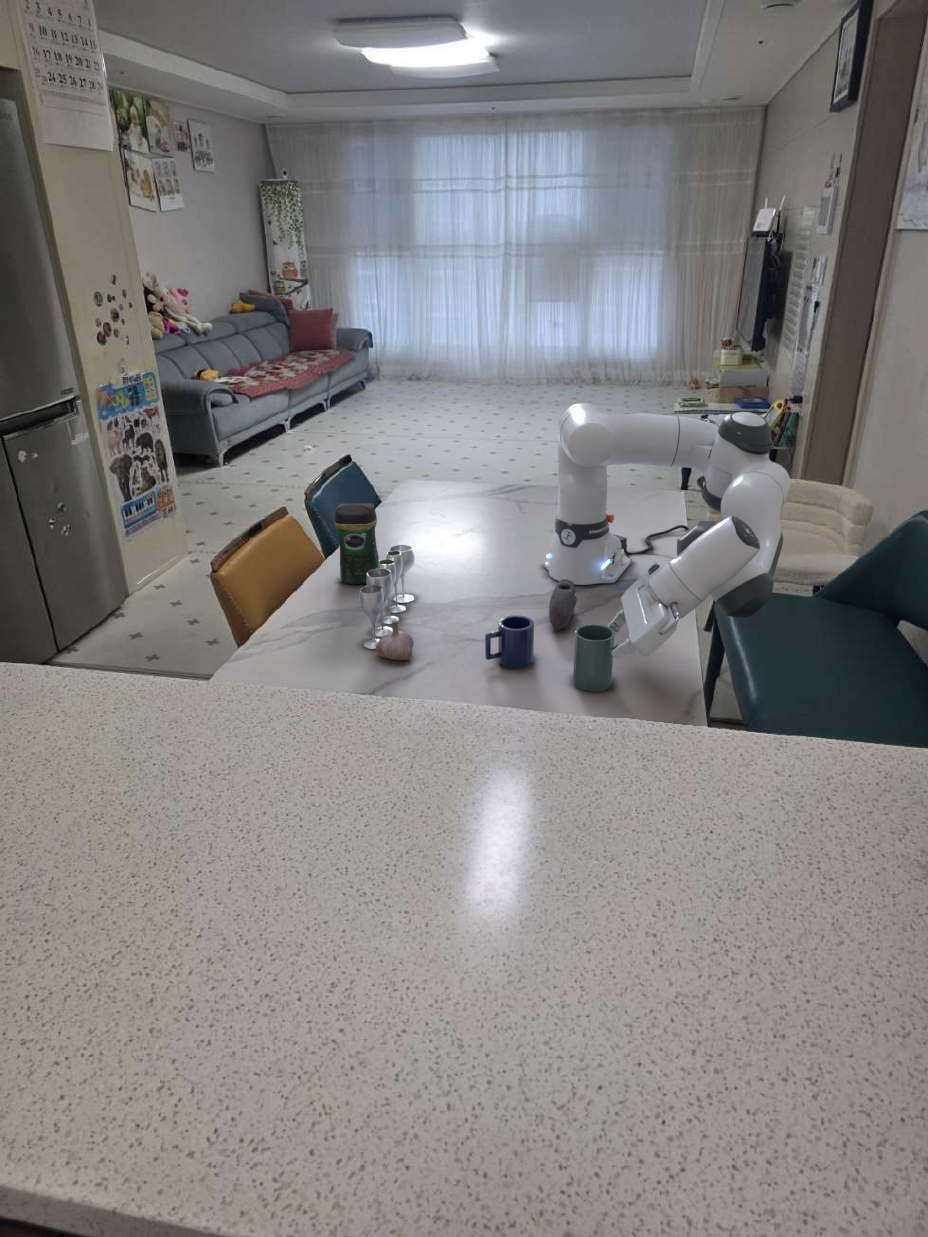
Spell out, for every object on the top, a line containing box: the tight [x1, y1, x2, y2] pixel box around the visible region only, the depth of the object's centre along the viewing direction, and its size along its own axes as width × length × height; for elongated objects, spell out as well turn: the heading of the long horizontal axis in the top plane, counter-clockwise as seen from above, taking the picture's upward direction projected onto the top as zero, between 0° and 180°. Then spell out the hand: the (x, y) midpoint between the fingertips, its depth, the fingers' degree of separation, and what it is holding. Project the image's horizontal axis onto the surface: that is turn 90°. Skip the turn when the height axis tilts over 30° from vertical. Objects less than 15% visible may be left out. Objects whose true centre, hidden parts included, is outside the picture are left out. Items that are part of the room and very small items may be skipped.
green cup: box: [572, 623, 616, 693], centre depth 147 cm, size 7×7×10 cm
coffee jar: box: [334, 502, 380, 585], centre depth 192 cm, size 10×8×19 cm
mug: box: [484, 614, 535, 670], centre depth 155 cm, size 10×7×8 cm
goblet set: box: [358, 544, 416, 650], centre depth 172 cm, size 28×6×13 cm, turn 169°
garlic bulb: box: [375, 620, 414, 661], centre depth 158 cm, size 8×7×8 cm
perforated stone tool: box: [548, 579, 578, 631], centre depth 171 cm, size 15×5×7 cm, turn 164°
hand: (611, 642), depth 145 cm, fingers open, 8 cm apart
